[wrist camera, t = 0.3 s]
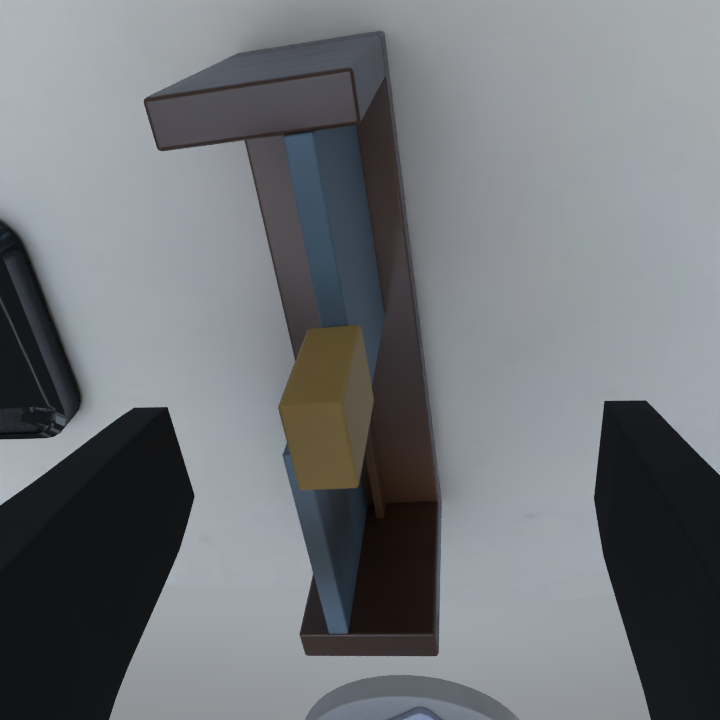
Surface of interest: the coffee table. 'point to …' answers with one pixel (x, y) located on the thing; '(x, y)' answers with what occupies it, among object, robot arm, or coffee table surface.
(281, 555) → the coffee table surface
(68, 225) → the coffee table surface
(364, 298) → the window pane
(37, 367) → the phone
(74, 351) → the coffee table surface
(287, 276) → the window frame
